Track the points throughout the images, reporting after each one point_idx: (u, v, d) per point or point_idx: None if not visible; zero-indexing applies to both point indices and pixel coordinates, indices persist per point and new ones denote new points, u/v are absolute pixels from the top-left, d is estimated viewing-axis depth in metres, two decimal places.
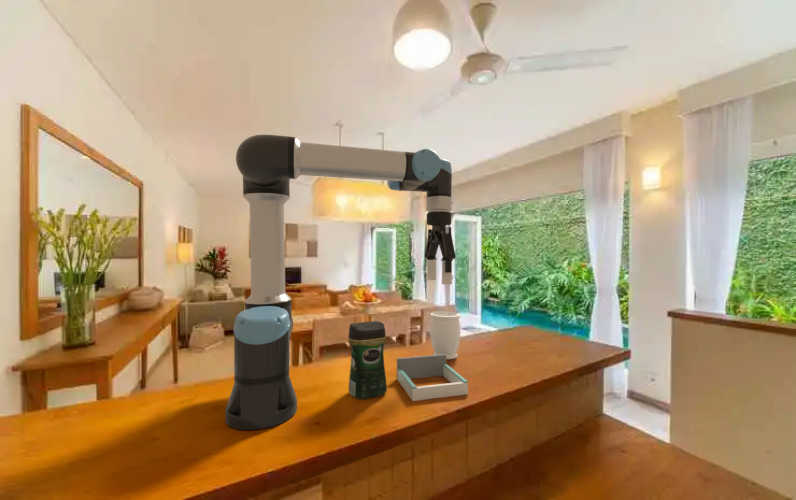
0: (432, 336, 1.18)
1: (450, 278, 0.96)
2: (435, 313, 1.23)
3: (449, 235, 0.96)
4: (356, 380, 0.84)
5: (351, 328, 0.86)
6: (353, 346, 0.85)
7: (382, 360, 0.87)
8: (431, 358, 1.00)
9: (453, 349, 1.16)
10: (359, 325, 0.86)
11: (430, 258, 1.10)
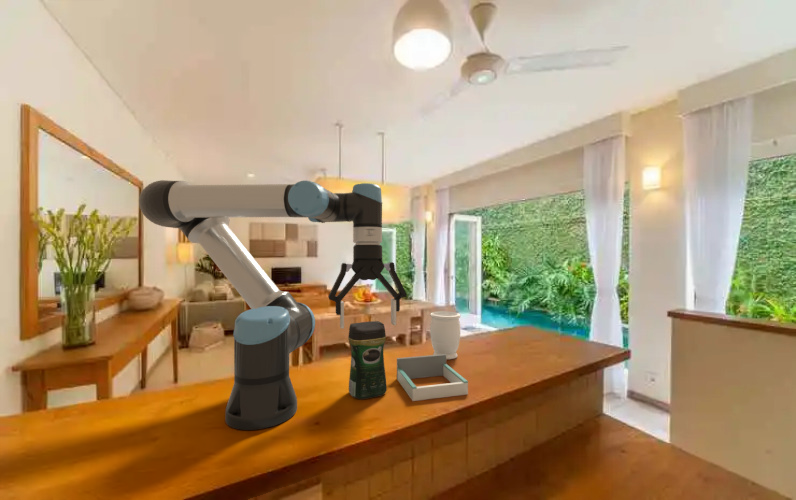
0: (432, 336, 1.18)
1: (340, 321, 0.86)
2: (435, 313, 1.23)
3: (340, 273, 0.86)
4: (356, 380, 0.84)
5: (351, 328, 0.86)
6: (353, 346, 0.85)
7: (382, 360, 0.87)
8: (431, 358, 1.00)
9: (453, 349, 1.16)
10: (359, 325, 0.86)
11: (394, 297, 0.91)
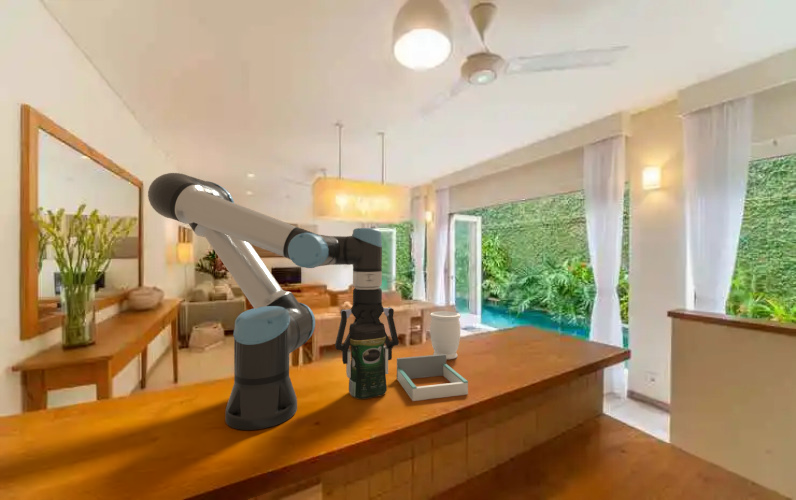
0: (432, 336, 1.18)
1: (347, 370, 0.86)
2: (435, 313, 1.23)
3: (341, 321, 0.86)
4: (356, 379, 0.84)
5: (351, 328, 0.86)
6: (353, 346, 0.85)
7: (382, 360, 0.87)
8: (431, 358, 1.00)
9: (453, 349, 1.16)
10: (359, 325, 0.86)
11: (386, 345, 0.90)
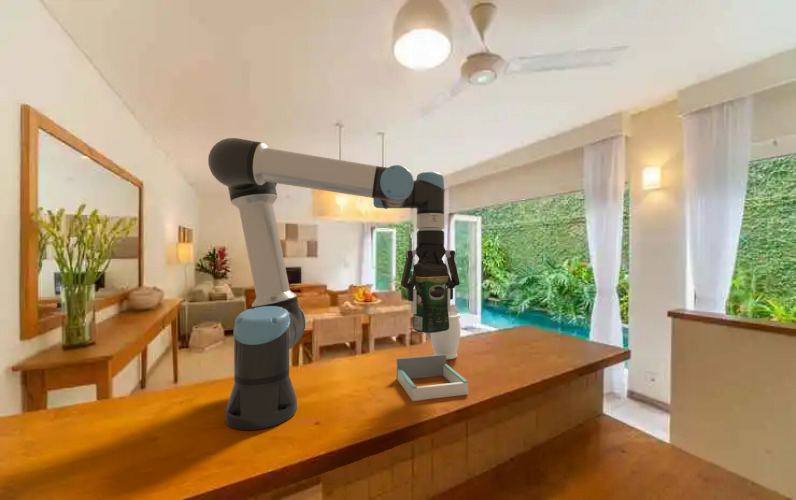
0: (432, 336, 1.18)
1: (413, 307, 0.91)
2: None
3: (407, 260, 0.91)
4: (423, 314, 0.89)
5: (416, 267, 0.91)
6: (419, 284, 0.90)
7: (446, 298, 0.91)
8: (431, 358, 1.00)
9: (453, 349, 1.16)
10: (424, 264, 0.91)
11: (447, 286, 0.95)
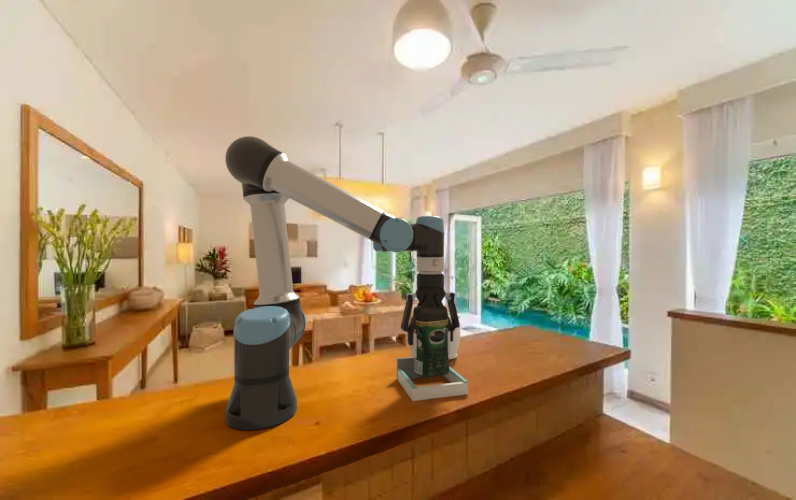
0: None
1: (413, 351, 0.91)
2: None
3: (407, 304, 0.91)
4: (423, 359, 0.89)
5: (416, 311, 0.91)
6: (419, 328, 0.90)
7: (446, 341, 0.91)
8: None
9: (453, 349, 1.16)
10: (424, 308, 0.91)
11: (447, 328, 0.95)
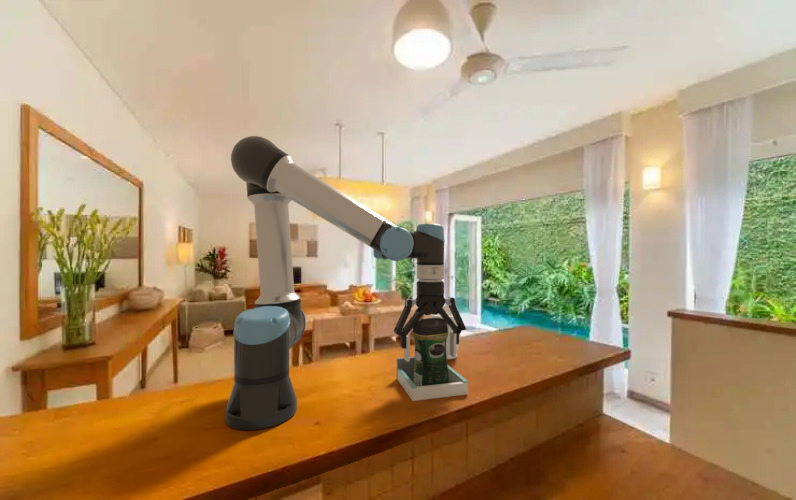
0: None
1: (406, 355, 0.90)
2: None
3: (405, 309, 0.91)
4: (423, 373, 0.89)
5: (416, 324, 0.91)
6: (419, 341, 0.90)
7: (445, 354, 0.91)
8: None
9: None
10: (424, 321, 0.91)
11: (453, 330, 0.95)
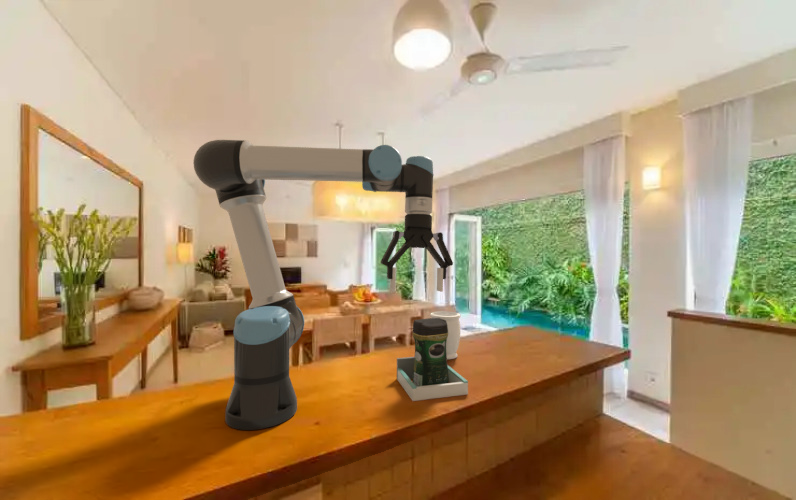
0: None
1: (392, 285, 0.91)
2: (435, 313, 1.23)
3: (393, 240, 0.91)
4: (423, 373, 0.89)
5: (416, 324, 0.91)
6: (419, 342, 0.90)
7: (445, 354, 0.91)
8: None
9: (453, 349, 1.16)
10: (424, 321, 0.91)
11: (440, 266, 0.96)
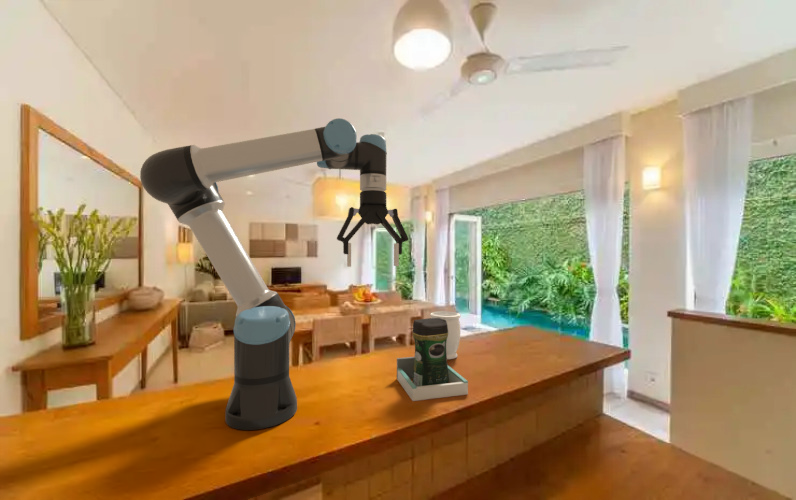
0: None
1: (348, 260, 0.94)
2: (435, 313, 1.23)
3: (348, 216, 0.94)
4: (423, 373, 0.89)
5: (416, 324, 0.91)
6: (419, 342, 0.90)
7: (445, 354, 0.91)
8: None
9: (453, 349, 1.16)
10: (424, 321, 0.91)
11: (397, 241, 0.99)
